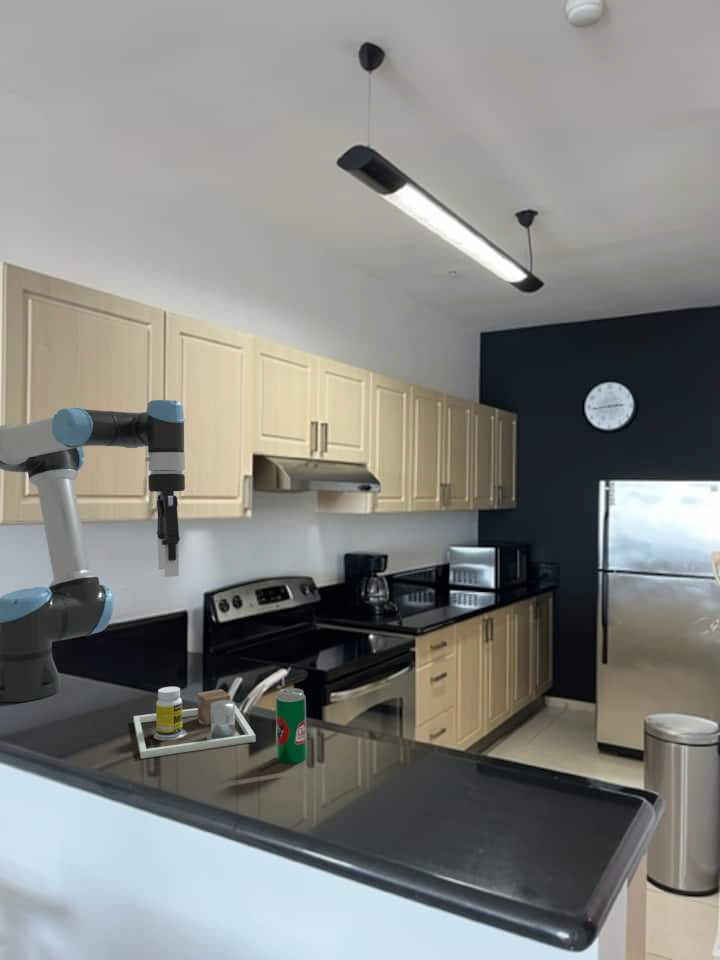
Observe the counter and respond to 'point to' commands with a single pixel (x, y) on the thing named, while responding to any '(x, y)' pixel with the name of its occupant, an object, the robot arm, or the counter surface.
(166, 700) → the supplement bottle
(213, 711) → the translucent grey cylinder
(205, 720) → the walnut block
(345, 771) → the counter surface
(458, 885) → the counter surface
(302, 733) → the soda can
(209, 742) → the collection tray
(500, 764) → the counter surface
